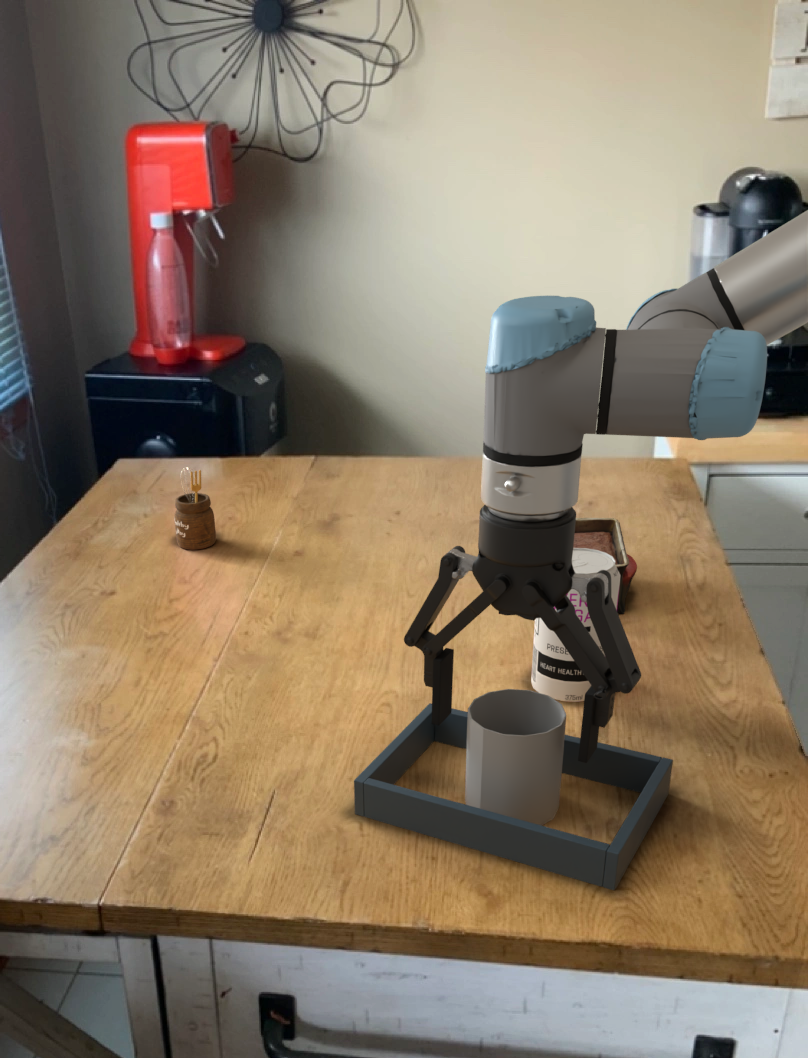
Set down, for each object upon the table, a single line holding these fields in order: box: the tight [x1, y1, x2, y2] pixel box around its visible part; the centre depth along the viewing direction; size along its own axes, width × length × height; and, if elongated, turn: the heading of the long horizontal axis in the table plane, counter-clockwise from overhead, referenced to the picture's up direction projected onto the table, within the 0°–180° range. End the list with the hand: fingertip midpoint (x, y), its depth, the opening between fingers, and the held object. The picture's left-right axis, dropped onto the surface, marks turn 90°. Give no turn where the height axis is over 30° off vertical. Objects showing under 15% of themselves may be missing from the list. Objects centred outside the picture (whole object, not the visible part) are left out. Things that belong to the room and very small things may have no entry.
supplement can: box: [530, 548, 621, 703], centre depth 119 cm, size 8×8×15 cm
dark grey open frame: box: [353, 702, 674, 891], centre depth 103 cm, size 24×16×4 cm, turn 58°
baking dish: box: [573, 517, 638, 615], centre depth 143 cm, size 14×18×10 cm
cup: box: [464, 688, 567, 826], centre depth 101 cm, size 8×8×10 cm
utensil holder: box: [173, 467, 217, 551], centre depth 165 cm, size 6×6×12 cm
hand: (512, 736), depth 100 cm, fingers open, 13 cm apart
